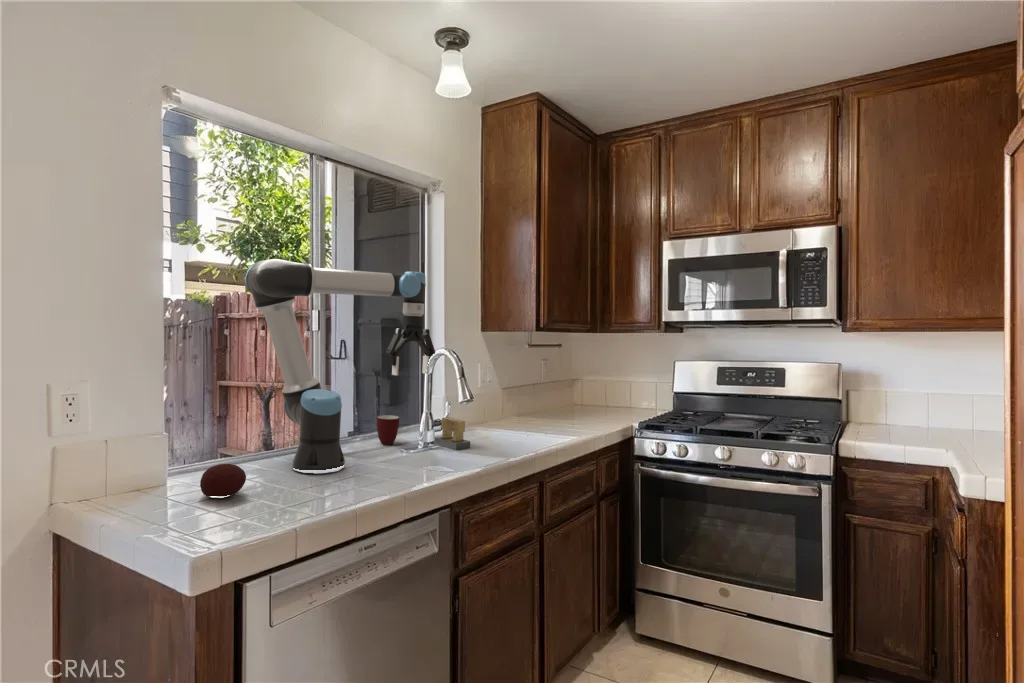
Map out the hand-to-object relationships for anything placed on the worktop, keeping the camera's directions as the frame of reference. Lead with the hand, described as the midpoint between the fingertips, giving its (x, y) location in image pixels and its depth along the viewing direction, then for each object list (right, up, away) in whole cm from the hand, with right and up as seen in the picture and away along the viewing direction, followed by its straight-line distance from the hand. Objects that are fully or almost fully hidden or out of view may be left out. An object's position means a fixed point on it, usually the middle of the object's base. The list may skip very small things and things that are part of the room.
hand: (410, 374), depth 208 cm
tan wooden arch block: (+14, -27, +8) cm, 32 cm away
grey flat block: (+14, -27, +8) cm, 32 cm away
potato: (-37, -28, -61) cm, 77 cm away
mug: (-10, -26, +6) cm, 29 cm away
